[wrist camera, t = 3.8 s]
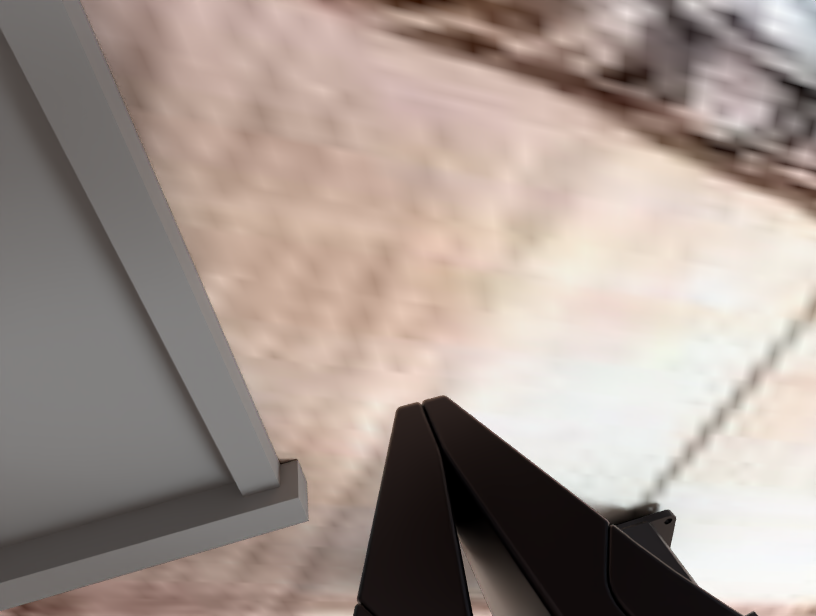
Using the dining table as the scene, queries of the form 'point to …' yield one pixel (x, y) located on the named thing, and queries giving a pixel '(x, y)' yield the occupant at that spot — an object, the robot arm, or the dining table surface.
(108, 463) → the tray
